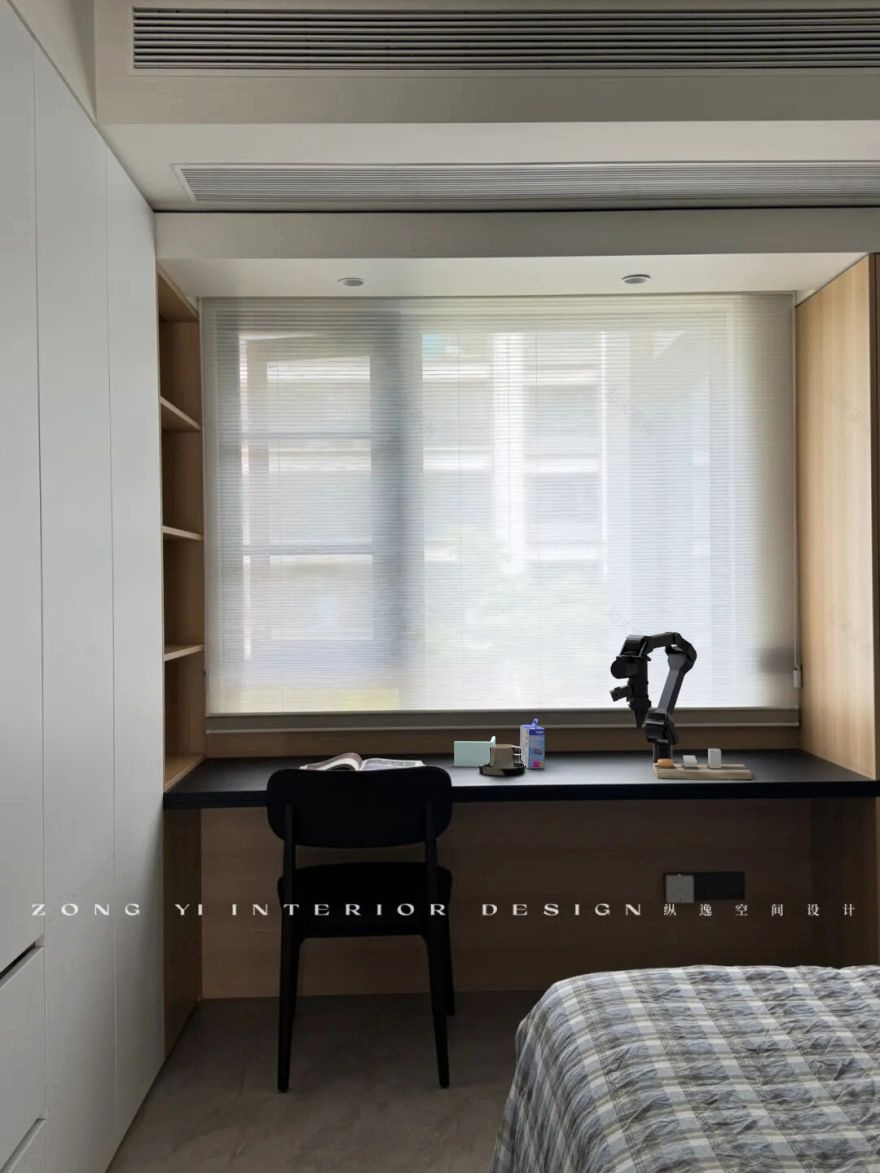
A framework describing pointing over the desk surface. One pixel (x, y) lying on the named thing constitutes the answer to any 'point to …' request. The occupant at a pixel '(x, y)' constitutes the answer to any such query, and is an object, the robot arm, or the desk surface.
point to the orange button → (665, 763)
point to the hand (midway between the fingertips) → (638, 728)
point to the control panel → (703, 771)
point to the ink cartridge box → (532, 745)
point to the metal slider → (714, 758)
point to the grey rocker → (690, 761)
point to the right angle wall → (472, 753)
